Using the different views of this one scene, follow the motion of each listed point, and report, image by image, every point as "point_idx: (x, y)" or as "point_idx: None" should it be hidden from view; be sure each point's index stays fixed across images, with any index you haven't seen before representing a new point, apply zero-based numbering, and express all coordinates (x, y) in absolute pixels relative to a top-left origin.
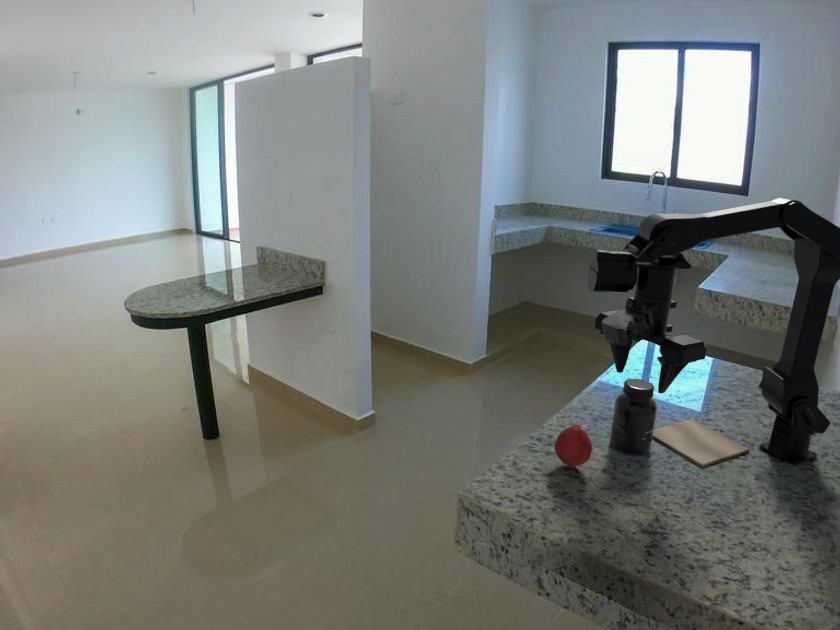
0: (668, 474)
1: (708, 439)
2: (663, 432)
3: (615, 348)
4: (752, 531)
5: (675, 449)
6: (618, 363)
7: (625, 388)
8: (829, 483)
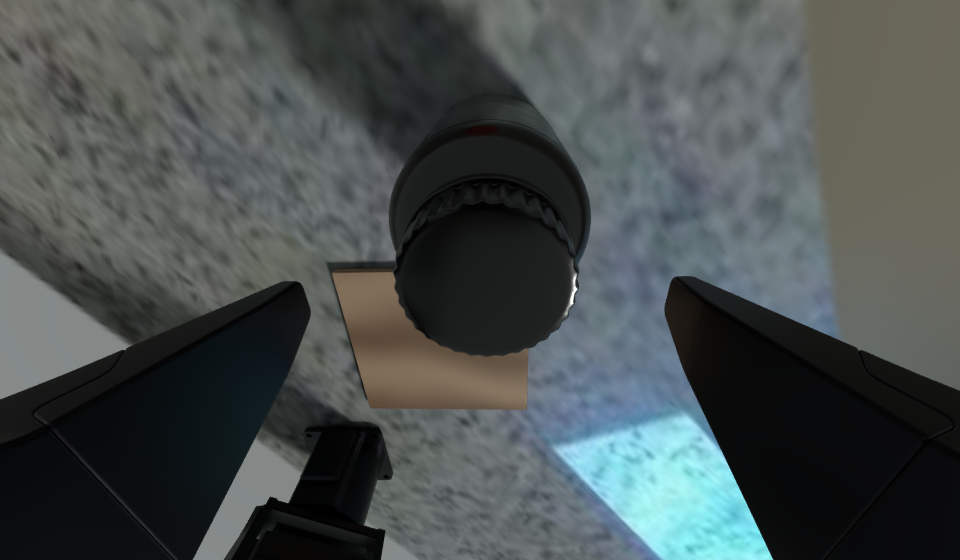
0: (318, 155)
1: (432, 372)
2: None
3: (895, 407)
4: (49, 153)
5: None
6: (715, 312)
7: (517, 194)
8: None
